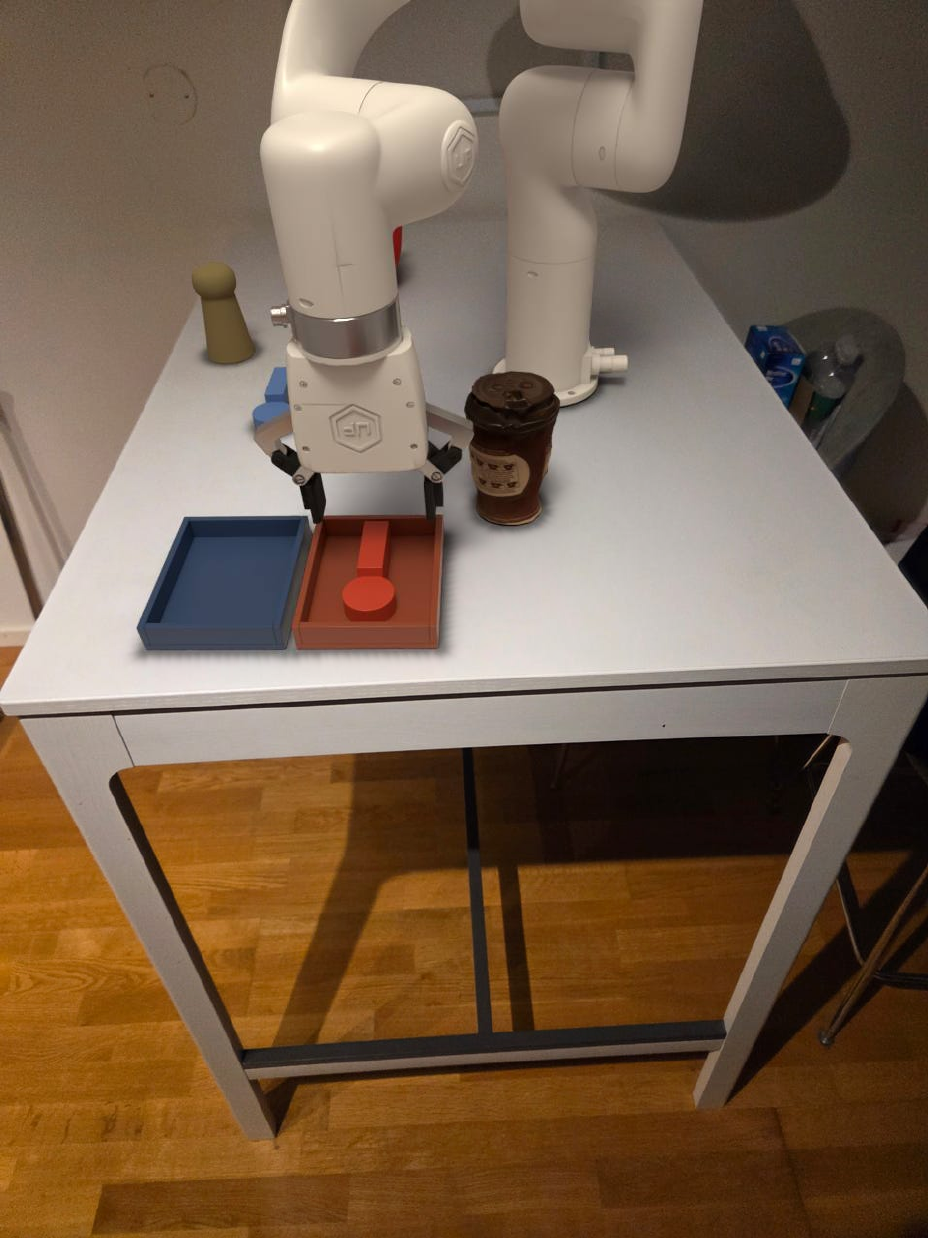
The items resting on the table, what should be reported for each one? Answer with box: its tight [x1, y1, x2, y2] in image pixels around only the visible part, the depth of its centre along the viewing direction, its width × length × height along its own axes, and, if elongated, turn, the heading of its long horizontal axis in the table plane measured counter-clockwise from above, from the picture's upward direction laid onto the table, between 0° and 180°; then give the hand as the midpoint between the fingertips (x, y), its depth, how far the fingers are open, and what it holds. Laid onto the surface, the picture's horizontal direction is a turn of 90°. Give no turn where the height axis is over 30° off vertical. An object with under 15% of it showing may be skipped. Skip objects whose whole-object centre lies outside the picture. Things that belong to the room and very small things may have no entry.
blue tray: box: [135, 515, 313, 651], centre depth 70 cm, size 12×15×3 cm
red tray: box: [291, 513, 445, 650], centre depth 69 cm, size 12×15×3 cm
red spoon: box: [342, 521, 396, 622], centre depth 69 cm, size 11×4×3 cm, turn 179°
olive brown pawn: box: [191, 261, 256, 364], centre depth 99 cm, size 6×6×11 cm
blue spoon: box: [251, 366, 290, 430], centre depth 91 cm, size 11×4×3 cm, turn 179°
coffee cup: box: [463, 371, 561, 526], centre depth 73 cm, size 9×8×13 cm
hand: (375, 512), depth 68 cm, fingers open, 9 cm apart
